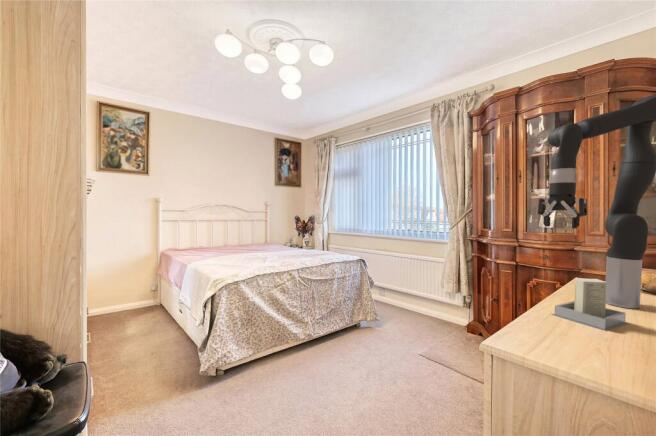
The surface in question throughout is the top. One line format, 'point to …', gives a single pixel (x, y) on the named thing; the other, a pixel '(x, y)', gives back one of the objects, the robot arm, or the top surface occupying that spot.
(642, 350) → the top surface
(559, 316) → the slate base plate
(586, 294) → the skincare box
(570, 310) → the shallow grey tray
